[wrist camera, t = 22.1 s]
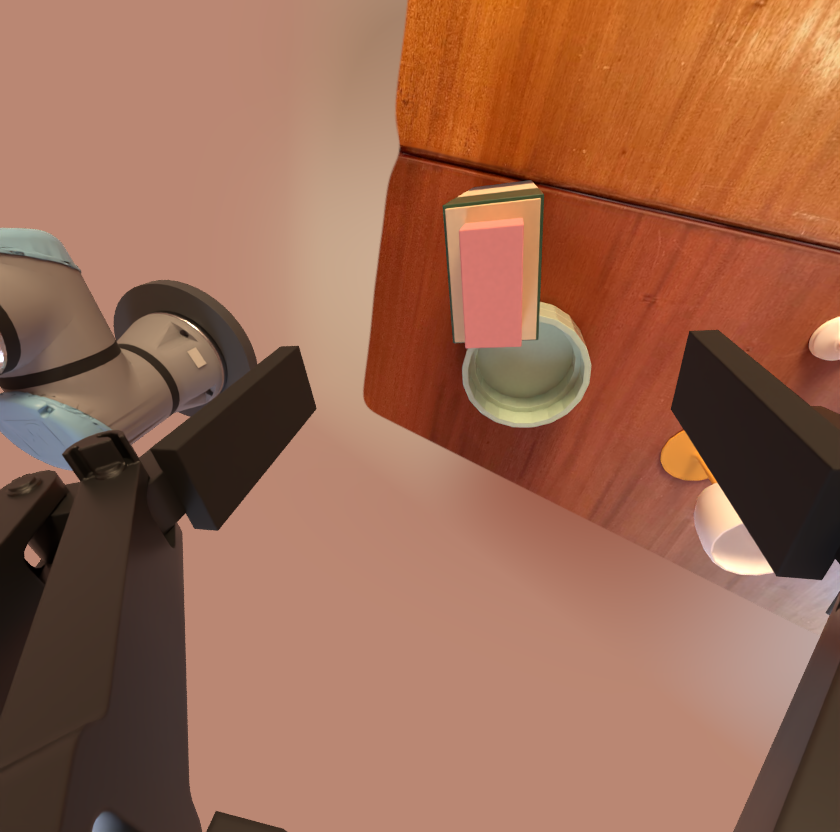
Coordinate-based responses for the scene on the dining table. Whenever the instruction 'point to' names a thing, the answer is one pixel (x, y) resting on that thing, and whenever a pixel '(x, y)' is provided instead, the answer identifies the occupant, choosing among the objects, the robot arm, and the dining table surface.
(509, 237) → the eraser
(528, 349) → the bowl
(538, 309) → the book stack
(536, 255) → the felt pad
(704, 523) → the cup
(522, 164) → the dining table surface
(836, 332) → the chess piece
